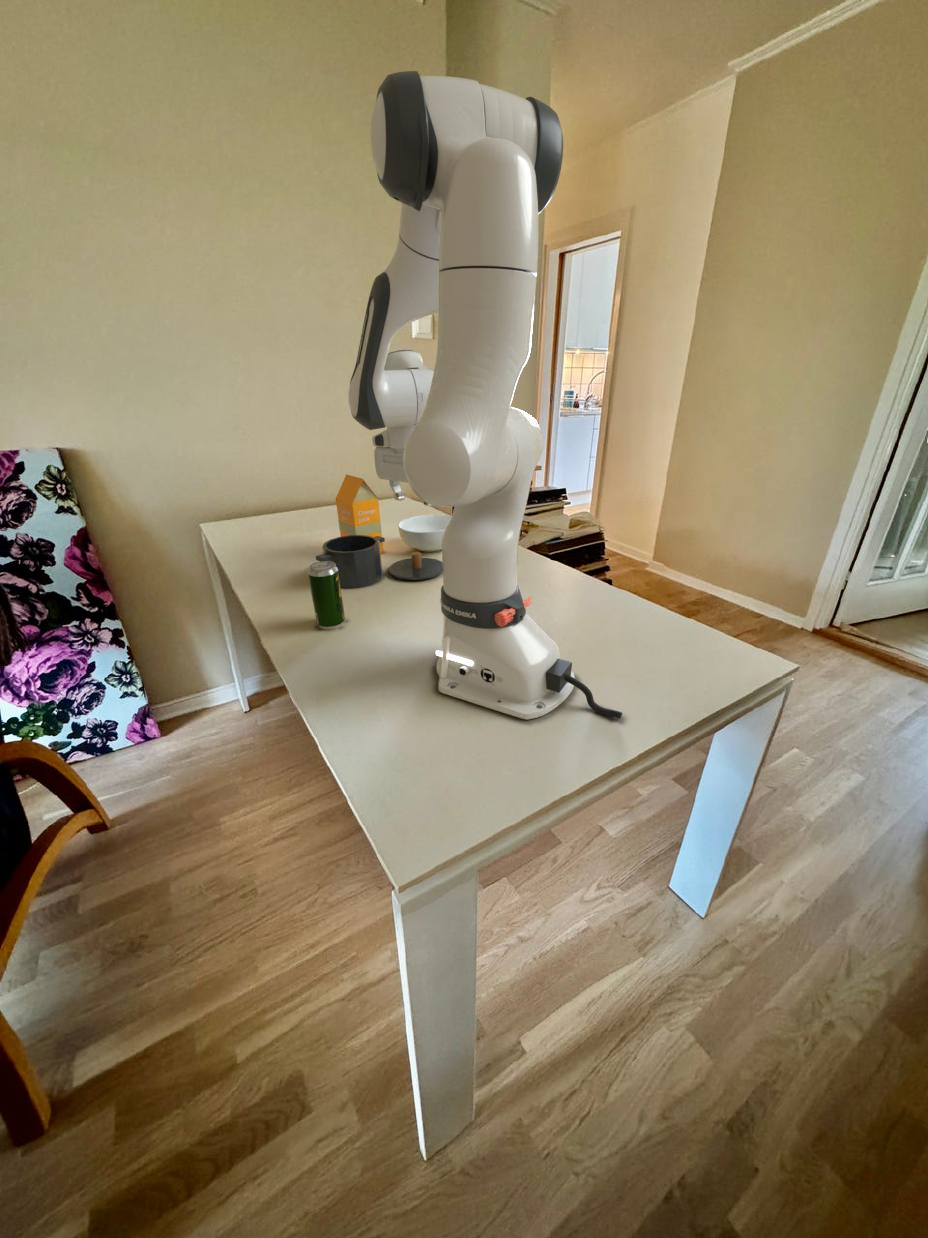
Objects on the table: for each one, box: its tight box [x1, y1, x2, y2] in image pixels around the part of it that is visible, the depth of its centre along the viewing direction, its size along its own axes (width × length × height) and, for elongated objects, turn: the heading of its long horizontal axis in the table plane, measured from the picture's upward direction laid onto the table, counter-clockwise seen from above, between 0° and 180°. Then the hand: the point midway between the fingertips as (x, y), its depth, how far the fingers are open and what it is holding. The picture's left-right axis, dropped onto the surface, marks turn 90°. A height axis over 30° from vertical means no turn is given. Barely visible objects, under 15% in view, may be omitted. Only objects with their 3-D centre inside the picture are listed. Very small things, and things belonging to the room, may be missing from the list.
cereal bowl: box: [397, 514, 452, 553], centre depth 131 cm, size 17×17×7 cm
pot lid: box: [388, 551, 443, 581], centre depth 116 cm, size 14×14×5 cm
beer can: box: [307, 561, 346, 631], centre depth 90 cm, size 5×5×12 cm
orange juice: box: [335, 474, 384, 554], centre depth 126 cm, size 8×9×20 cm
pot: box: [315, 535, 386, 589], centre depth 112 cm, size 13×18×8 cm
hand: (414, 502), depth 109 cm, fingers open, 8 cm apart
